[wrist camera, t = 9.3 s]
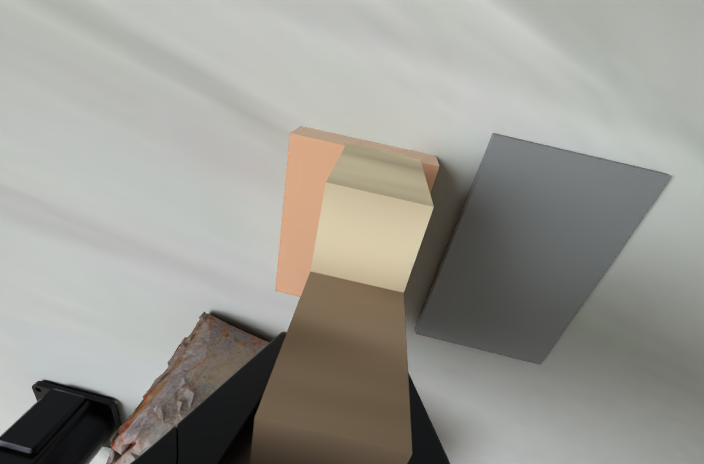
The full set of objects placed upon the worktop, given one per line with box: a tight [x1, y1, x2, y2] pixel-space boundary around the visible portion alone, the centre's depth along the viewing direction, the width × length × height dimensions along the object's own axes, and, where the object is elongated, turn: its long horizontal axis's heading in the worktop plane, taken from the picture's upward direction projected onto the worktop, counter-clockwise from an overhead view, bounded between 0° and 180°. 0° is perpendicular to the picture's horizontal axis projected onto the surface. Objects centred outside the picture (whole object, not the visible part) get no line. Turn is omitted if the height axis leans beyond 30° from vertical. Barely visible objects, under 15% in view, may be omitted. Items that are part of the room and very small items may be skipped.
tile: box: [275, 126, 440, 297], centre depth 16 cm, size 8×2×6 cm
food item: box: [106, 312, 270, 464], centre depth 18 cm, size 14×8×10 cm, turn 63°
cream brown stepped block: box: [250, 143, 434, 464], centre depth 10 cm, size 9×2×8 cm, turn 169°
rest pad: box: [415, 133, 671, 364], centre depth 16 cm, size 11×7×1 cm, turn 169°
